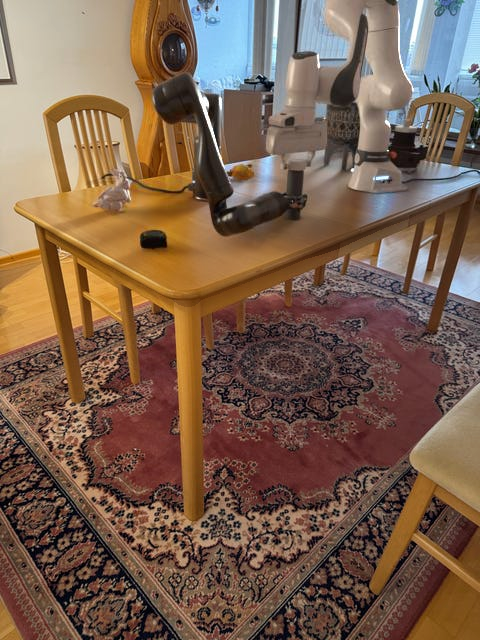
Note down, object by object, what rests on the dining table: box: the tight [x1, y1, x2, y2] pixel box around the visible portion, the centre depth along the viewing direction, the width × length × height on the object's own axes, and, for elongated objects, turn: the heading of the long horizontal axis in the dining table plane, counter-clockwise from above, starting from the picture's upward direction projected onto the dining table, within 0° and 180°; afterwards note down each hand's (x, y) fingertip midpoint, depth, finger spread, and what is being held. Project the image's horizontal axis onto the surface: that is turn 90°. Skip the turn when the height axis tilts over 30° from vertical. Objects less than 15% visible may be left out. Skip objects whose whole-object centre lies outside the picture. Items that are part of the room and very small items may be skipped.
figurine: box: [92, 167, 133, 213], centre depth 142 cm, size 8×15×13 cm, turn 145°
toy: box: [226, 163, 256, 182], centre depth 185 cm, size 11×6×15 cm
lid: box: [286, 157, 307, 171], centre depth 135 cm, size 6×6×2 cm
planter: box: [323, 101, 360, 172], centre depth 204 cm, size 20×20×26 cm
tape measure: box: [139, 229, 168, 250], centre depth 117 cm, size 7×7×4 cm
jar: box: [283, 169, 305, 221], centre depth 139 cm, size 5×5×16 cm
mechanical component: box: [388, 119, 430, 174], centre depth 205 cm, size 22×21×30 cm
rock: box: [333, 147, 351, 154], centre depth 243 cm, size 13×9×6 cm, turn 131°
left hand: (297, 195), depth 142 cm, fingers closed on jar, 5 cm apart
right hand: (295, 168), depth 135 cm, fingers open, 8 cm apart
